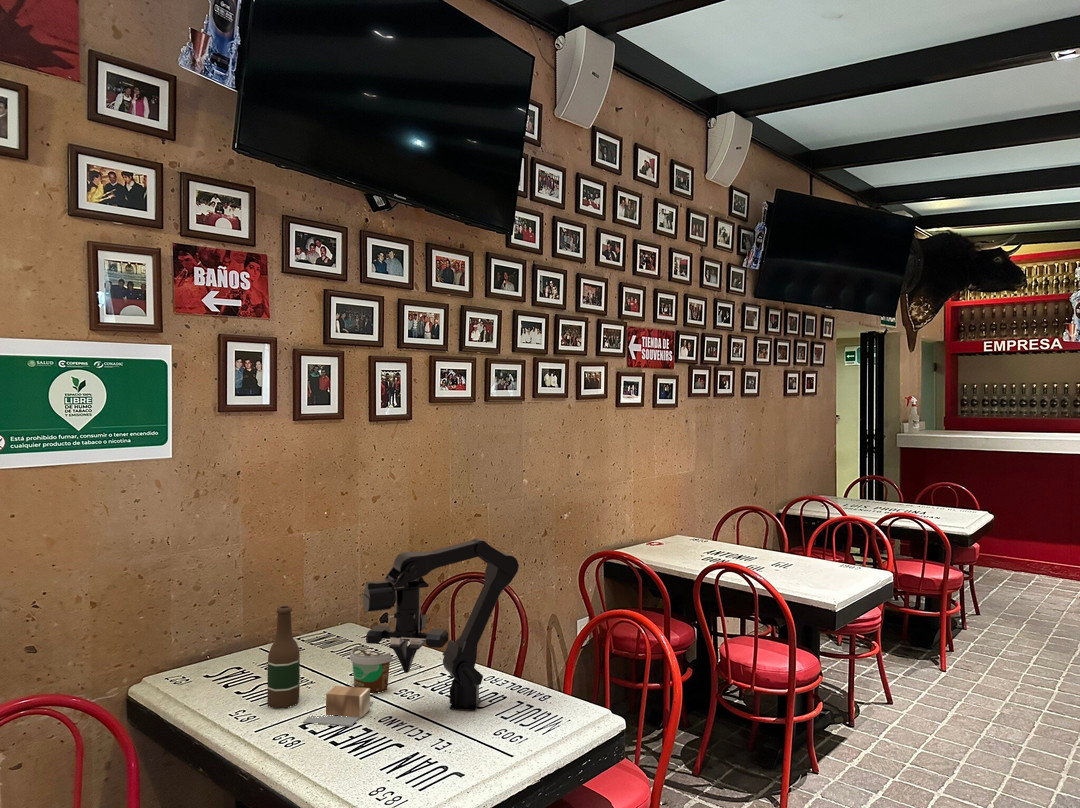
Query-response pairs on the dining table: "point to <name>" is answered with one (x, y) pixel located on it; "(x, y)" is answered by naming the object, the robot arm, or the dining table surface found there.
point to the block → (348, 701)
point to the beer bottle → (283, 664)
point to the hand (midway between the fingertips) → (406, 672)
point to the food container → (370, 669)
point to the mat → (333, 719)
